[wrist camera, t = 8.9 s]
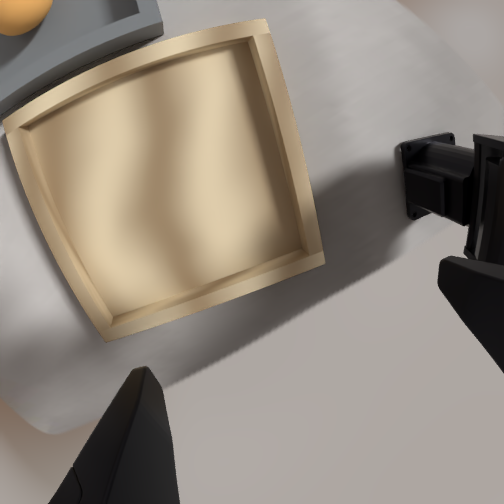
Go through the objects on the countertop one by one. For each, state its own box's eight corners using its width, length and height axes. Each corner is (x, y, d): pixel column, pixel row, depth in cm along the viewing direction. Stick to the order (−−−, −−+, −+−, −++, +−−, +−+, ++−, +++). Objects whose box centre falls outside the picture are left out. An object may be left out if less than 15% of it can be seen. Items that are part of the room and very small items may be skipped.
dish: (256, 27, 15) (265, 18, 13) (314, 253, 22) (325, 263, 20) (15, 120, 13) (2, 120, 11) (109, 327, 20) (105, 342, 18)
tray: (132, -77, 9) (130, -95, 6) (163, 34, 14) (162, 21, 11) (-46, 23, 7) (-62, 18, 5) (-32, 140, 12) (-52, 144, 10)
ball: (65, 22, 11) (43, -1, 7) (11, 53, 10) (-19, 40, 7) (58, -21, 9) (39, -46, 6) (6, 9, 9) (-20, -8, 5)
